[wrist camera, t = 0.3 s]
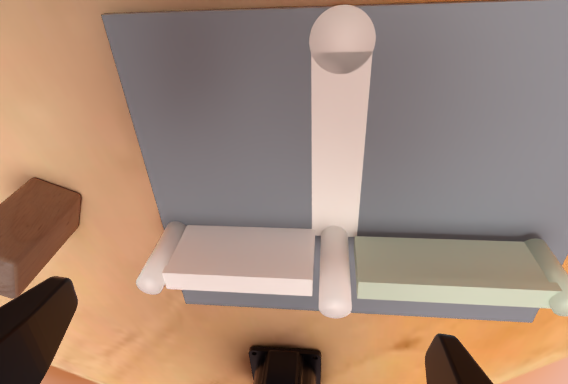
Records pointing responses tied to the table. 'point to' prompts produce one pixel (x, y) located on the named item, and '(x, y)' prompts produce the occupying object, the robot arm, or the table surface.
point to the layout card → (344, 142)
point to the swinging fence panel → (461, 272)
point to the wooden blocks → (33, 231)
